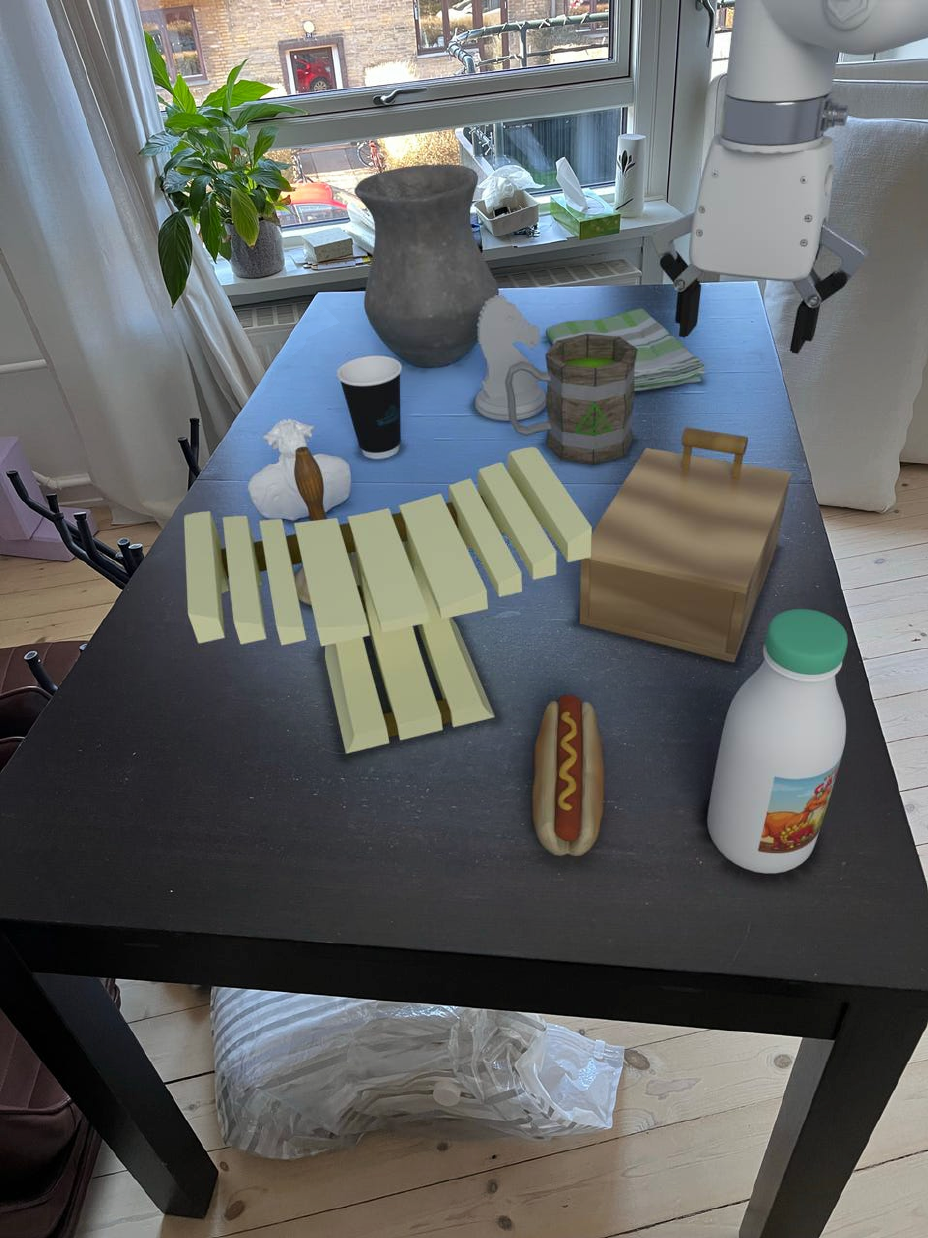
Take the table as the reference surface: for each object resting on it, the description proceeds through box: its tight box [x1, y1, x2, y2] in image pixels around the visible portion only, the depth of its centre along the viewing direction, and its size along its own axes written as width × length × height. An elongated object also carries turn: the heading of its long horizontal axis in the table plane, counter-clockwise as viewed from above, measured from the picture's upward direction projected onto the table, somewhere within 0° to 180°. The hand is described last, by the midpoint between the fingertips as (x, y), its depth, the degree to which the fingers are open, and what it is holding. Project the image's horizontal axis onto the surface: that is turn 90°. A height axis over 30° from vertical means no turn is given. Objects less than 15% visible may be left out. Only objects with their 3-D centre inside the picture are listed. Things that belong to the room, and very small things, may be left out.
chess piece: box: [474, 294, 547, 422], centre depth 116 cm, size 10×10×15 cm
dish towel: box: [545, 308, 707, 392], centre depth 128 cm, size 17×23×4 cm
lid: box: [586, 426, 793, 594], centre depth 82 cm, size 20×15×5 cm
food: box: [531, 694, 606, 857], centre depth 68 cm, size 14×6×5 cm, turn 174°
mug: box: [505, 334, 638, 466], centre depth 108 cm, size 16×11×12 cm
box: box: [578, 484, 790, 664], centre depth 86 cm, size 19×15×8 cm
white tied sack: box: [246, 418, 352, 521], centre depth 102 cm, size 12×8×11 cm
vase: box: [354, 163, 500, 368], centre depth 126 cm, size 20×19×25 cm
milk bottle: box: [706, 608, 848, 874], centre depth 59 cm, size 8×8×20 cm
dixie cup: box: [336, 355, 403, 460], centre depth 110 cm, size 8×8×11 cm
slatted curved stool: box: [183, 446, 593, 754], centre depth 76 cm, size 30×16×18 cm, turn 105°
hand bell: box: [294, 446, 360, 607], centre depth 88 cm, size 8×8×16 cm
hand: (741, 339), depth 78 cm, fingers open, 9 cm apart
